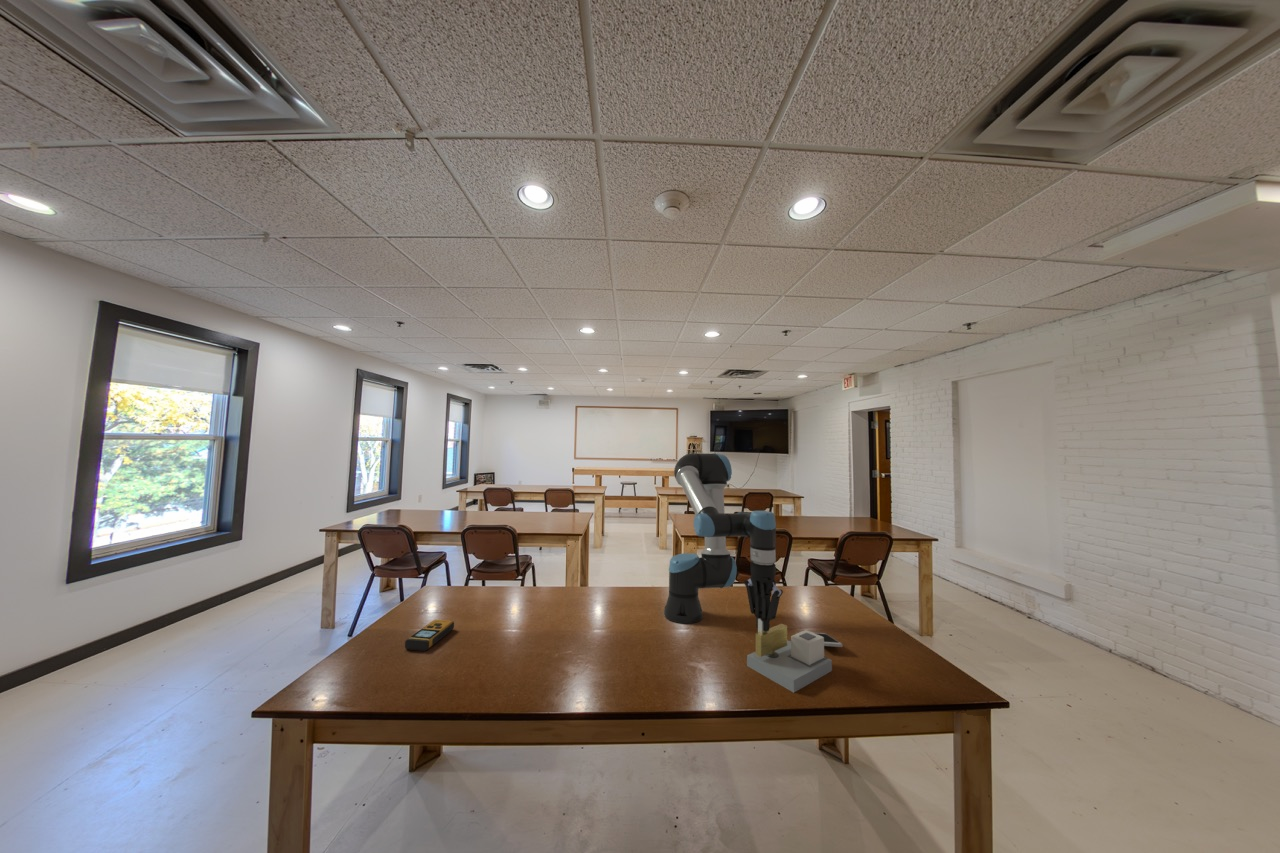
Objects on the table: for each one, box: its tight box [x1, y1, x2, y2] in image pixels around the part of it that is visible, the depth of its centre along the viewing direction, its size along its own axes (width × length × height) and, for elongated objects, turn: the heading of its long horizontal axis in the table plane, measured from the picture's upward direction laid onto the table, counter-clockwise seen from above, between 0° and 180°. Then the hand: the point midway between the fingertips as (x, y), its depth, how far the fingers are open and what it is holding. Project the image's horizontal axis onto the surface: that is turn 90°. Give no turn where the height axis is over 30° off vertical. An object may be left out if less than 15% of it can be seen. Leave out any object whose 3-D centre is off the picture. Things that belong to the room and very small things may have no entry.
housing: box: [746, 639, 833, 693], centre depth 120 cm, size 16×20×4 cm
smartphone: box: [811, 631, 843, 648], centre depth 137 cm, size 7×15×1 cm, turn 175°
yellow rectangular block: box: [755, 623, 788, 657], centre depth 122 cm, size 13×2×7 cm, turn 125°
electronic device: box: [404, 619, 455, 652], centre depth 134 cm, size 8×16×3 cm, turn 175°
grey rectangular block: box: [790, 629, 825, 665], centre depth 121 cm, size 6×8×6 cm
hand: (762, 640), depth 121 cm, fingers closed, pressing on yellow rectangular block
